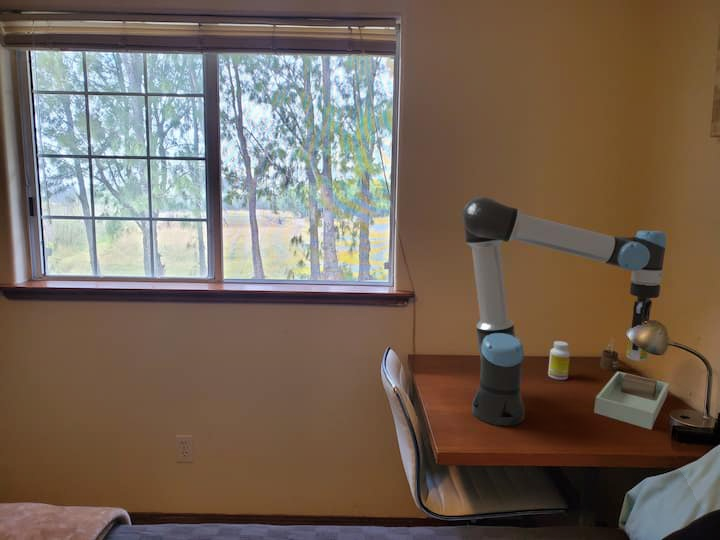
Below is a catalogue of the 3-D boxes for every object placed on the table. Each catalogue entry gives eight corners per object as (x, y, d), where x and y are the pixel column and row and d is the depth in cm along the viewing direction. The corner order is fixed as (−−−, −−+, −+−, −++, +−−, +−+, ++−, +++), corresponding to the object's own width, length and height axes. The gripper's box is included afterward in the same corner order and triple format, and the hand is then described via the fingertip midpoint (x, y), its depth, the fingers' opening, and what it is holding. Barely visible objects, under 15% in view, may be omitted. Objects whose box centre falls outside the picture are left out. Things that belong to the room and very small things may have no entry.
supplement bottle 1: (570, 381, 163) (573, 346, 161) (550, 379, 164) (553, 345, 162) (564, 374, 170) (568, 340, 168) (546, 372, 171) (549, 339, 169)
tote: (651, 429, 130) (653, 413, 130) (594, 412, 140) (595, 397, 139) (666, 397, 151) (668, 383, 150) (615, 384, 161) (617, 371, 160)
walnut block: (652, 400, 148) (654, 385, 147) (621, 391, 154) (622, 377, 153) (655, 395, 152) (657, 380, 151) (624, 387, 157) (626, 373, 157)
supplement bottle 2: (644, 362, 137) (648, 331, 135) (624, 357, 140) (627, 327, 139) (648, 357, 141) (652, 327, 139) (628, 353, 144) (632, 323, 142)
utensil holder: (598, 369, 174) (601, 339, 172) (602, 365, 179) (605, 335, 177) (615, 373, 171) (619, 343, 169) (619, 369, 175) (622, 339, 173)
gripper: (654, 289, 127) (644, 368, 131) (665, 280, 141) (656, 352, 145) (624, 285, 132) (615, 362, 136) (637, 277, 146) (629, 347, 150)
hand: (636, 357), depth 140 cm, fingers closed on supplement bottle 2, 5 cm apart
